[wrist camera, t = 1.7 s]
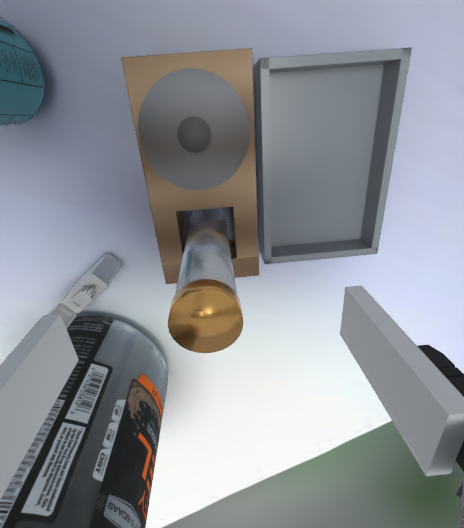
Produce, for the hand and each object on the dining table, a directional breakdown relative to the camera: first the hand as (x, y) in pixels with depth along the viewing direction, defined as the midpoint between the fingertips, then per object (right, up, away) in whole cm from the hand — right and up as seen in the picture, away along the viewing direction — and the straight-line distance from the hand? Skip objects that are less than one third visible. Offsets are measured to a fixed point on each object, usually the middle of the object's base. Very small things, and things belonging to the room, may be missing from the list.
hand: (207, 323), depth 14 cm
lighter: (-13, +1, +15) cm, 20 cm away
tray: (+8, +11, +12) cm, 18 cm away
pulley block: (-1, +10, +11) cm, 15 cm away
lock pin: (-1, +7, +13) cm, 15 cm away
